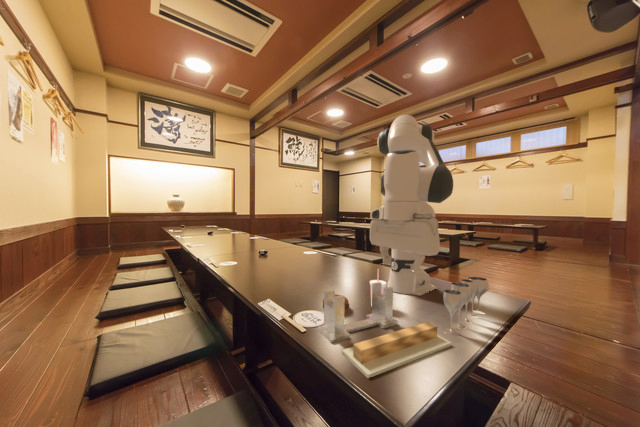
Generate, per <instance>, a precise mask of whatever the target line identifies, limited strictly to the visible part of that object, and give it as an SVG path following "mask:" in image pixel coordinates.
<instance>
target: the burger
mask: <svg viewBox="0 0 640 427" xmlns="http://www.w3.org/2000/svg"><path fill="white" fill-rule="evenodd" d="M336 296H341V295H340V294H335V297H336ZM322 308H323V309H324V298H323V300H322ZM349 310H350V303H349V300H348V298H347V297H346V296H345V305H344V315H345V314H347V313H348V312H349Z"/></svg>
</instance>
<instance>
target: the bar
mask: <svg viewBox="0 0 640 427" xmlns="http://www.w3.org/2000/svg"><path fill="white" fill-rule="evenodd" d="M437 335H438V326H437V325H435V324H433V323H431V322H429V321H426V322H423V323H419V324H416V325H414V326H409V327H406V328H402V329H398V330H397V331H393V332H389V333H385V334H383V335H380V336H376V337H373V338H370V339H366V340H365V339H364V340H362V341H359V342H356V343H353V346H352V347H353V357H354V358H355V359H356V360H357V361H359V362H360V363H361V364H362V363H365V362H368V361H371V360H374V359H377V358H379V357H382V356H385V355H388V354H391V353H394V352H396V351H399V350H402V349H405V348H408V347H411V346H414V345H416V344H419V343H422V342H425V341H428V340H431V339H433V338H436V337H437Z"/></svg>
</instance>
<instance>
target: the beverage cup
mask: <svg viewBox="0 0 640 427" xmlns="http://www.w3.org/2000/svg"><path fill="white" fill-rule="evenodd" d="M379 272H380V268H377V272H376V273H377V275H376V276H377V278H376V279H371V280H369V285H370V305H371V307H372V283H378V282H380V283H381V294H383V288H386V287H387V282H386V281H385V280H383V279H382V280H381V279H379V278H380V277H379V276H380V274H379Z"/></svg>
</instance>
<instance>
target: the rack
mask: <svg viewBox="0 0 640 427" xmlns="http://www.w3.org/2000/svg"><path fill="white" fill-rule="evenodd" d="M335 292H336V290H335V289H329V290H324V291H323V293H324V295H323V299H324V308H323V324H322V325H319V326H317V331H318V332H319V333H321V335H322V336H324V337H325V339H327V341H328V342H329V343H331V344H334V343H337V342H341V341H344V340H348V339H351V333H354V332H357V331H360V330H364V329H369V328H372V327H376V326H379V327H380V328H381V329H387V328H390V327H394V326H398V325H399V321H398V320H396V319H394V318H393V310H394V309H393V307H394V306H393V305H394V302H393V300H394V291H393V287H387V286H386V287H385V288H383V294H381V283H380V282H378V283H372V306H371V313H369V314H366V319H362V320H358V321H354V322H348V323H345V314H344V305H345V297H346V296H345V295H341V296H336V297H335V295H336V294H335Z"/></svg>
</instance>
